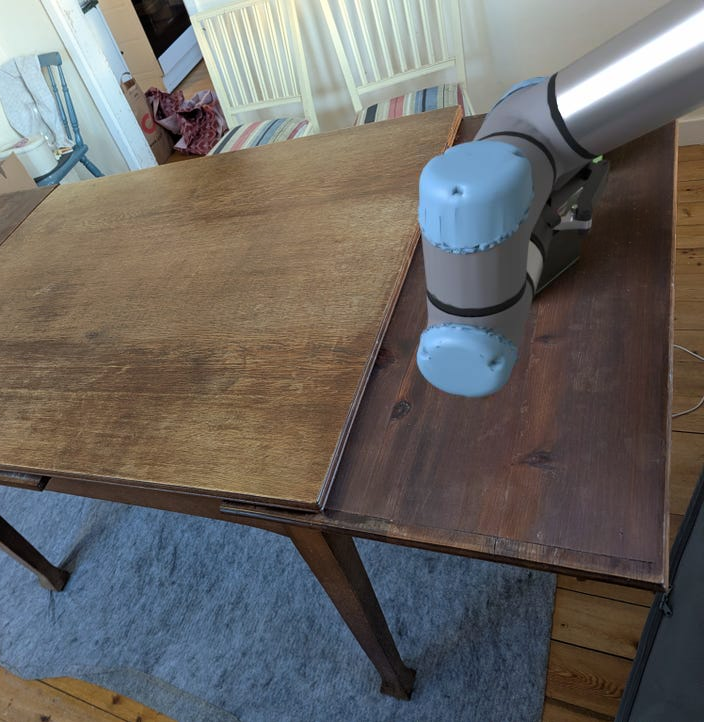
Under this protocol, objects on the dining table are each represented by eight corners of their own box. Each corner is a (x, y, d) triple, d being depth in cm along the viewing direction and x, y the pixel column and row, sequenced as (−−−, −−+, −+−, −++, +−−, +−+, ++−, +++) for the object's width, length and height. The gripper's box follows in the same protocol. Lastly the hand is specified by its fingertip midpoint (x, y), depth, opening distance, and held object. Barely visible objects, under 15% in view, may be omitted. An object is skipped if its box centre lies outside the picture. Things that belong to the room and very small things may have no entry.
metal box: (508, 237, 96) (510, 164, 88) (579, 261, 88) (588, 183, 80) (454, 280, 93) (450, 208, 85) (522, 308, 85) (526, 232, 76)
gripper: (399, 281, 65) (455, 168, 78) (618, 299, 55) (642, 165, 67) (392, 222, 60) (453, 112, 73) (631, 230, 50) (654, 99, 62)
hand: (543, 138), depth 70 cm, fingers closed on soda can, 7 cm apart
